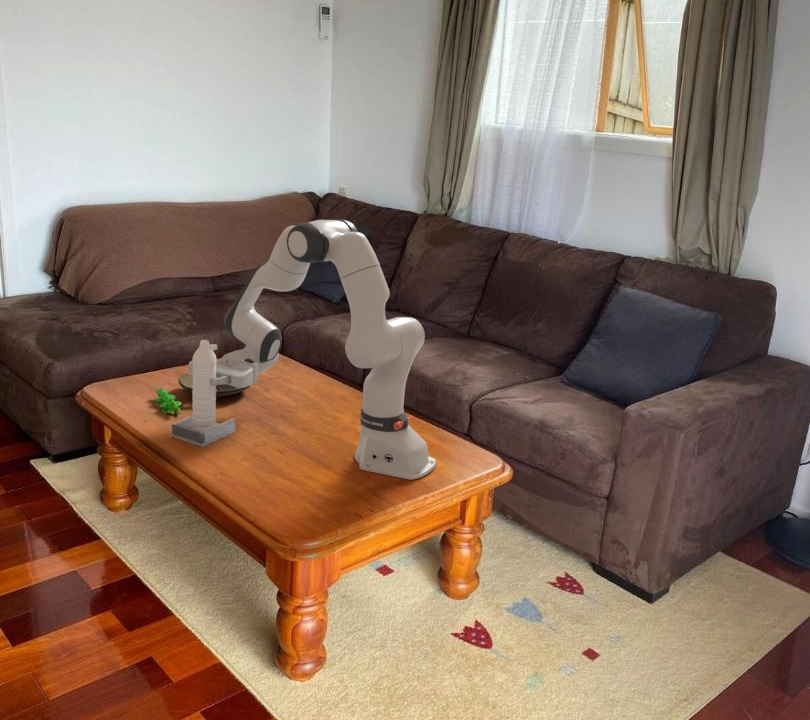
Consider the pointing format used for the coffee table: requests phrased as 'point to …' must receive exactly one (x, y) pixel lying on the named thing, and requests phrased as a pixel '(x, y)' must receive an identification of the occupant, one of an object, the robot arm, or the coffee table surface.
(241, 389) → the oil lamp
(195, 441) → the keeper cradle
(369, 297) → the robot arm
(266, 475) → the coffee table surface
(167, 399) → the crocodile figurine
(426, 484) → the coffee table surface
